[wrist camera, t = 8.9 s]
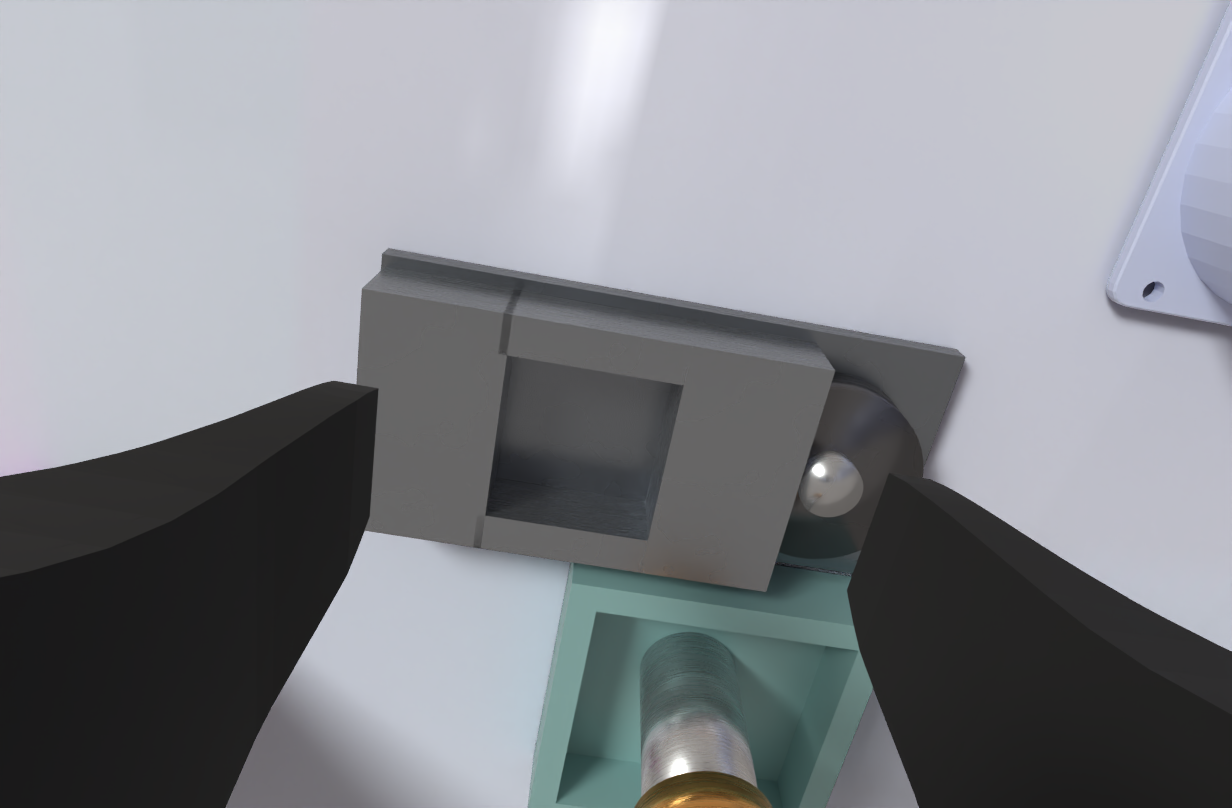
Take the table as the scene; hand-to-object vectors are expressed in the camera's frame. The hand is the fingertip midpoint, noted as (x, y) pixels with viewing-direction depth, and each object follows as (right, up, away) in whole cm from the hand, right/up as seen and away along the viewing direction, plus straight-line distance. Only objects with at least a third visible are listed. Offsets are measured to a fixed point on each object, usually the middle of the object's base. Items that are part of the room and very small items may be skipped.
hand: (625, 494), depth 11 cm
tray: (+2, -7, +15) cm, 17 cm away
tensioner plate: (+1, +1, +11) cm, 11 cm away
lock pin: (+2, -7, +14) cm, 16 cm away
